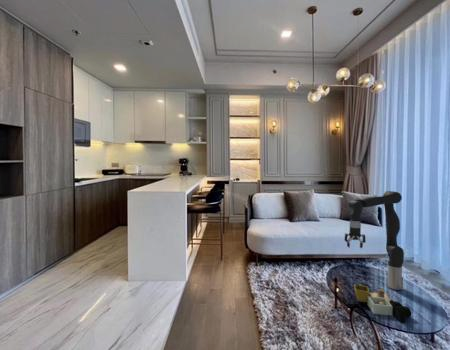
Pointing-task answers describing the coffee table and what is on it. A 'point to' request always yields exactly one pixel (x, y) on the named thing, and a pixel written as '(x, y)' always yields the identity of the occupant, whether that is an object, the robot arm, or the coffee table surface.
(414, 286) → the coffee table surface
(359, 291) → the flower pot
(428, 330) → the coffee table surface
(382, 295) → the lid
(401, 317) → the film camera
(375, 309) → the pale green open box
